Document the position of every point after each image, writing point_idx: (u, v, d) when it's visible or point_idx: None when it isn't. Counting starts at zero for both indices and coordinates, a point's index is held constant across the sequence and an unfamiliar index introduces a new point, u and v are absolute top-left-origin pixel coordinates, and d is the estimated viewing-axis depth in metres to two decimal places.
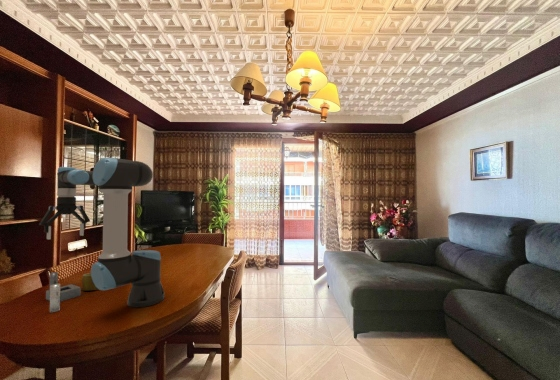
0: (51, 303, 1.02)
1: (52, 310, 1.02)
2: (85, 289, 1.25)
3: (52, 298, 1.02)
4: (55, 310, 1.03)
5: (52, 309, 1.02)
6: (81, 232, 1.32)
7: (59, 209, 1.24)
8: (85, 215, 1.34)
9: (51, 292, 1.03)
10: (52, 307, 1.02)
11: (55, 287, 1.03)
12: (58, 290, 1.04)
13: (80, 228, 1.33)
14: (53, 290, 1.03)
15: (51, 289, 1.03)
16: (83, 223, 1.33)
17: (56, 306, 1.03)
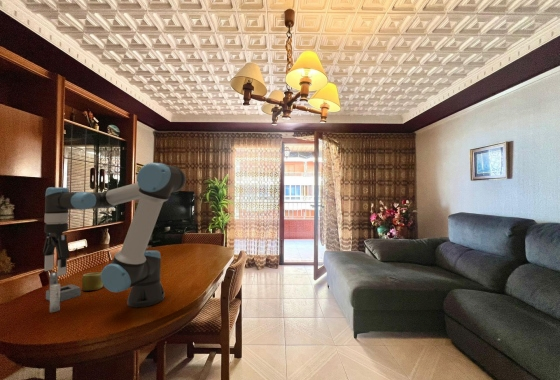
0: (51, 303, 1.02)
1: (52, 310, 1.02)
2: (85, 289, 1.25)
3: (52, 298, 1.02)
4: (55, 310, 1.03)
5: (52, 309, 1.02)
6: None
7: None
8: (60, 249, 1.00)
9: (51, 292, 1.03)
10: (52, 307, 1.02)
11: (55, 287, 1.03)
12: (58, 290, 1.04)
13: None
14: (53, 290, 1.03)
15: (51, 289, 1.03)
16: None
17: (56, 306, 1.03)
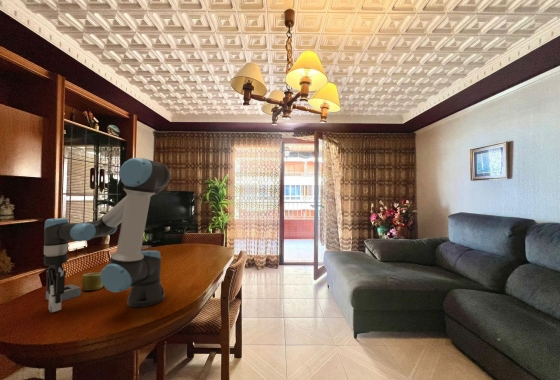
0: (51, 303, 1.02)
1: None
2: (85, 289, 1.25)
3: (52, 298, 1.02)
4: None
5: None
6: None
7: None
8: (56, 285, 1.01)
9: (51, 292, 1.03)
10: None
11: None
12: None
13: None
14: (53, 290, 1.03)
15: (51, 289, 1.03)
16: None
17: None
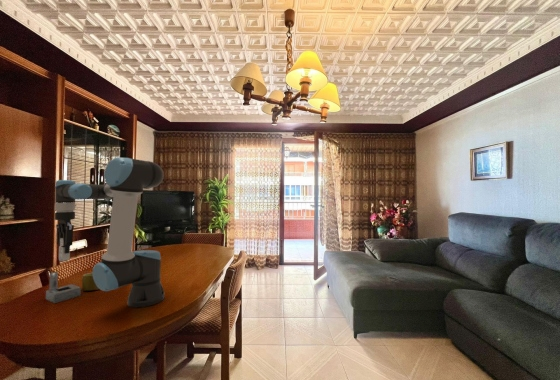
0: (61, 253, 1.17)
1: None
2: (85, 289, 1.25)
3: None
4: None
5: None
6: None
7: None
8: (66, 237, 1.16)
9: (61, 244, 1.18)
10: (61, 257, 1.17)
11: None
12: None
13: None
14: (62, 242, 1.18)
15: (61, 241, 1.18)
16: None
17: None
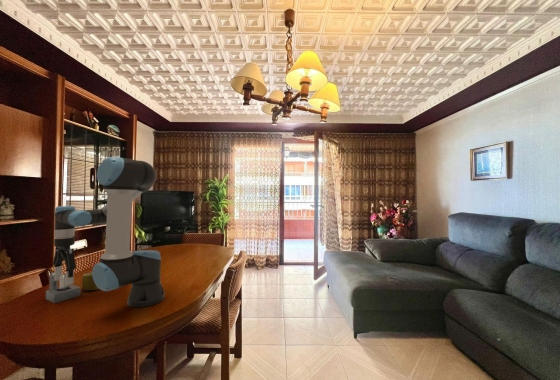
0: (60, 290, 1.17)
1: None
2: (85, 289, 1.25)
3: (61, 286, 1.17)
4: None
5: None
6: None
7: None
8: (68, 261, 1.14)
9: (60, 281, 1.17)
10: None
11: (64, 276, 1.17)
12: None
13: None
14: (62, 279, 1.17)
15: (60, 278, 1.17)
16: None
17: None
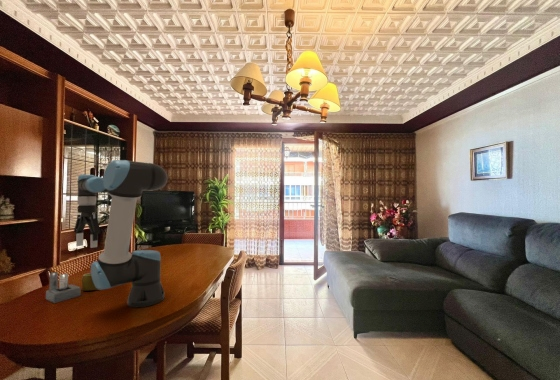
0: (60, 290, 1.17)
1: None
2: (85, 289, 1.25)
3: (61, 286, 1.17)
4: None
5: None
6: None
7: None
8: (92, 225, 1.20)
9: (60, 281, 1.17)
10: None
11: (64, 276, 1.17)
12: (66, 279, 1.18)
13: None
14: (62, 279, 1.17)
15: (60, 278, 1.17)
16: (93, 234, 1.20)
17: None
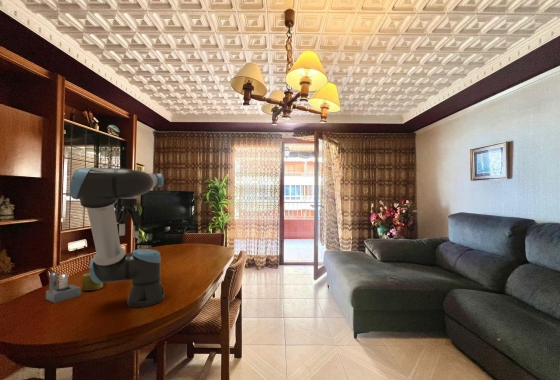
0: (60, 290, 1.17)
1: None
2: (85, 289, 1.25)
3: (61, 286, 1.17)
4: None
5: None
6: None
7: None
8: (135, 217, 1.31)
9: (60, 281, 1.17)
10: None
11: (63, 276, 1.17)
12: (66, 279, 1.18)
13: None
14: (62, 279, 1.17)
15: (60, 278, 1.17)
16: (135, 225, 1.32)
17: None
